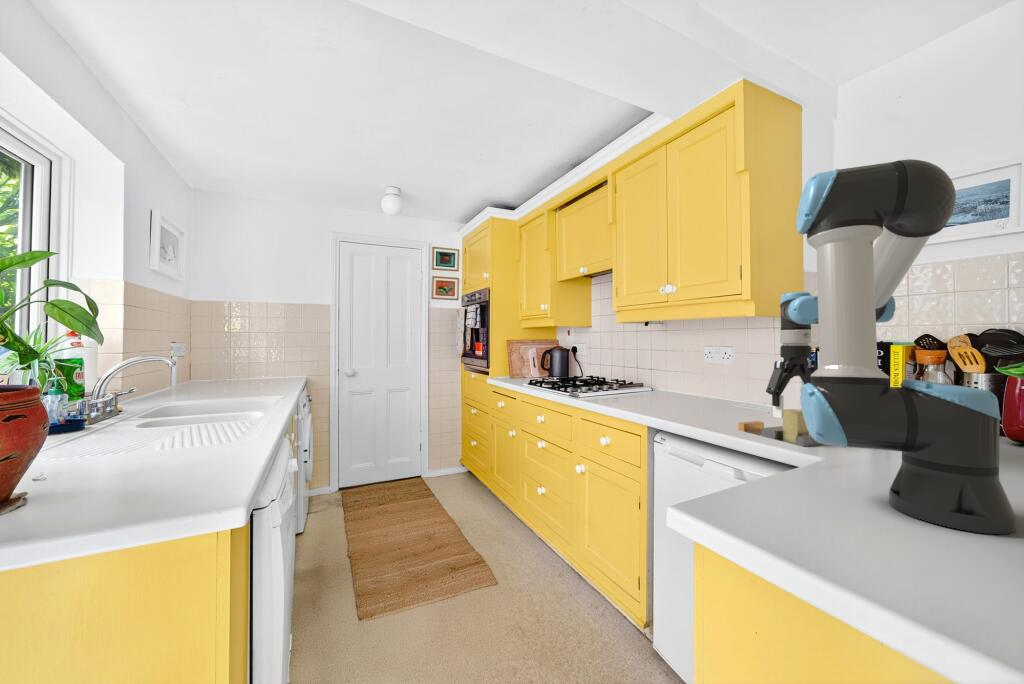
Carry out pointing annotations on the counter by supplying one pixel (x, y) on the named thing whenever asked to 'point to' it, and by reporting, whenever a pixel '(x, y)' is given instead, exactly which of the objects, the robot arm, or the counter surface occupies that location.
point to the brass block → (793, 425)
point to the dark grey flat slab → (775, 433)
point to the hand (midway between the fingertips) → (795, 415)
